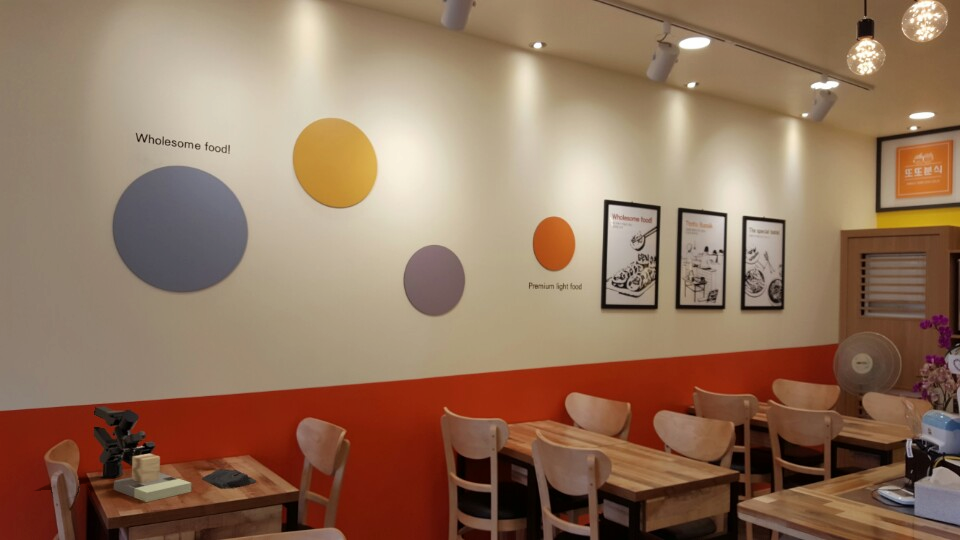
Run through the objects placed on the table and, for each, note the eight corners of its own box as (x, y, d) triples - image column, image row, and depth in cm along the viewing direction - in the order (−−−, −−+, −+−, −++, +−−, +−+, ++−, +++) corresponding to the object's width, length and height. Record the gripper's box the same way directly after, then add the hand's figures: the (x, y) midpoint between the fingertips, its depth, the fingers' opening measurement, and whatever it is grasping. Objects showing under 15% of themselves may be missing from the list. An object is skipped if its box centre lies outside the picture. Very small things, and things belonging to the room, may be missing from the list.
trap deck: (113, 489, 280) (114, 480, 280) (157, 480, 295) (157, 471, 295) (146, 502, 265) (146, 492, 265) (191, 491, 280) (191, 482, 280)
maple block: (131, 479, 283) (132, 456, 283) (148, 475, 289) (149, 453, 289) (142, 482, 278) (142, 459, 278) (159, 479, 284) (159, 456, 284)
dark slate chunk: (233, 473, 309) (233, 462, 309) (258, 484, 294) (259, 472, 294) (199, 480, 298) (199, 468, 298) (223, 491, 283) (223, 479, 283)
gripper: (108, 428, 284) (121, 460, 277) (154, 422, 298) (167, 452, 292) (98, 445, 288) (111, 477, 281) (143, 438, 303) (156, 468, 296)
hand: (137, 468), depth 287 cm, fingers closed
